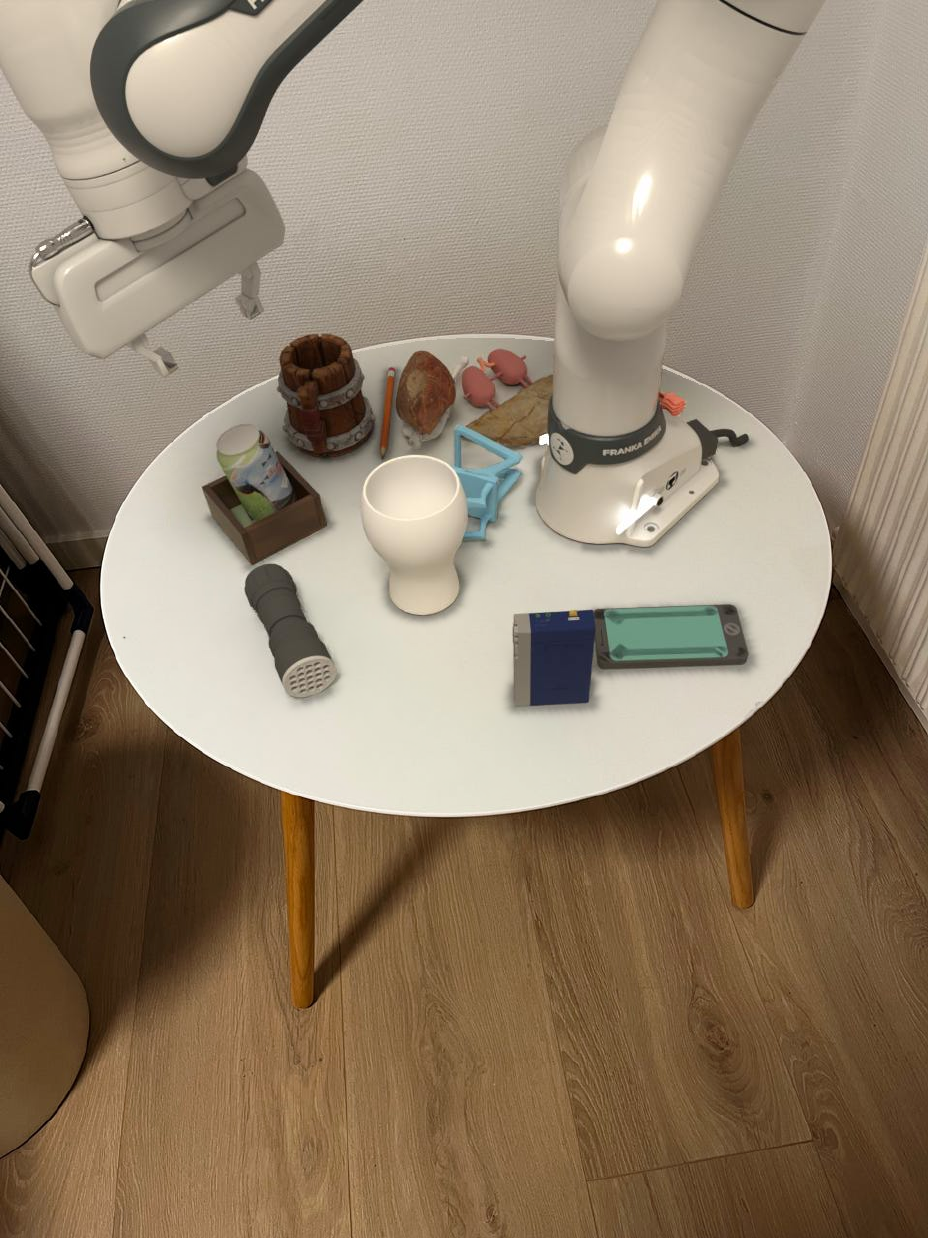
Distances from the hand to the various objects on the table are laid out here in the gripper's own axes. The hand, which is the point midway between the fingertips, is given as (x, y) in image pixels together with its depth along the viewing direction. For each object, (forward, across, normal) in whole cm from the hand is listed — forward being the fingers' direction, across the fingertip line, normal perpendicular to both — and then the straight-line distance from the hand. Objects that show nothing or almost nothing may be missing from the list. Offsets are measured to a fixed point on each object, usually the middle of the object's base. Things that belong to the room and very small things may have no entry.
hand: (212, 342), depth 80 cm
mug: (+30, +14, +18) cm, 37 cm away
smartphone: (+37, +19, -33) cm, 53 cm away
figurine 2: (+34, +36, +7) cm, 50 cm away
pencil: (+30, +22, +17) cm, 41 cm away
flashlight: (+30, -9, -6) cm, 32 cm away
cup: (+32, +6, -10) cm, 34 cm away
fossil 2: (+22, +25, +13) cm, 36 cm away
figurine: (+32, +26, +11) cm, 43 cm away
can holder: (+29, 0, +11) cm, 31 cm away
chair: (+30, +24, -3) cm, 38 cm away
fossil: (+30, +37, -4) cm, 48 cm away
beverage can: (+28, 0, +11) cm, 30 cm away
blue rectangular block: (+34, +5, -30) cm, 46 cm away
